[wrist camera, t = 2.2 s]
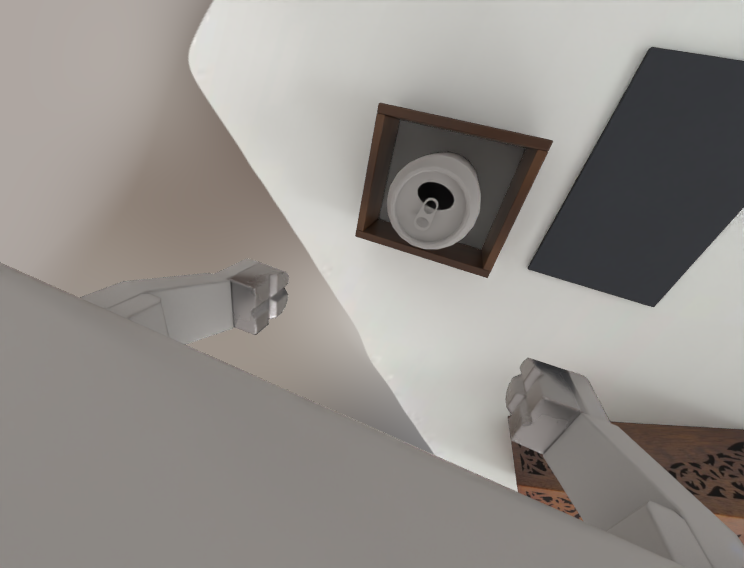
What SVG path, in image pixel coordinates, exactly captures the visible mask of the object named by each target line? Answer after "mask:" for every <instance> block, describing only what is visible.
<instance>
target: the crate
mask: <svg viewBox="0 0 744 568" xmlns="http://www.w3.org/2000/svg"><path fill="white" fill-rule="evenodd" d="M400 120H403V121H408V122H412V123H417V124H421V125H425V126H430V127H434V128H439V129H443V130H447V131H452V132H456V133H461V134H465V135H469V136H474V137H478V138H483V139H487V140H491V141H496V142H500V143H505V144H509V145H513V146H518V147H522V148H526V149H525V151H524V153H523V156H522V158H521V160H520V162H519V165H518V167H517V169H516V171H515V174H514V176H513V178H512V181H511V183H510V185H509V187H508V190H507V192H506V194H505V197H504V199H503V201H502V203H501V206H500V208H499V210H498V212H497V215H496V217H495V219H494V222H493V224H492V226H491V228H490V231H489V233H488V235H487V238H486V240H485V242H484V244H483V247H482V249H478V248H474V247H471V246H468V245H464V244H461V243H458V242H456V243H455V244H453V245H452V246H448V247H445V248H441V249H422V248H419V247H416V246H413V245H411V244H409V243H408V242H407V241H405V240H404V239H402V238H401V237H400V236H399V235H398V233H397V232H396V231H395V229H394V228H393V227H392V224H391V222H387V221H384V220H381V219H379V215H380V211H381V206H382V201H383V197H384V192H385V188H386V183H387V178H388V174H389V169H390V164H391V160H392V155H393V150H394V146H395V141H396V137H397V132H398V127H399V123H400ZM552 142H553V141H552V140H548V139H544V138H539V137H535V136H530V135H526V134H521V133H516V132H512V131H507V130H503V129H498V128H493V127H489V126H484V125H480V124H475V123H471V122H466V121H461V120H457V119H452V118H448V117H443V116H439V115H434V114H429V113H425V112H420V111H416V110H411V109H407V108H402V107H397V106H393V105H388V104H384V103H379V105H378V110H377V116H376V122H375V127H374V133H373V139H372V144H371V150H370V156H369V161H368V167H367V173H366V178H365V184H364V190H363V195H362V201H361V207H360V212H359V218H358V224H357V230H356V235H355V236H356V237H359V238H363V239H366V240H369V241H372V242H375V243H378V244H382V245H385V246H388V247H391V248H394V249H397V250H401V251H404V252H407V253H410V254H413V255H416V256H420V257H423V258H426V259H429V260H432V261H435V262H438V263H442V264H445V265H448V266H451V267H454V268H457V269H461V270H464V271H467V272H470V273H473V274H476V275H480V276H483V277H486V278H488V276H489V274H490V272H491V270H492V268H493V266H494V264H495V262H496V259H497V257H498V255H499V253H500V251H501V249H502V247H503V245H504V243H505V241H506V239H507V237H508V234H509V232H510V230H511V228H512V226H513V224H514V222H515V220H516V218H517V216H518V214H519V212H520V209H521V207H522V205H523V203H524V201H525V199H526V197H527V195H528V193H529V191H530V189H531V187H532V184H533V182H534V180H535V178H536V176H537V174H538V172H539V170H540V168H541V166H542V164H543V162H544V159H545V157H546V155H547V153H548V152H547V151H549V149H550V147H551V145H552Z"/></svg>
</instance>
